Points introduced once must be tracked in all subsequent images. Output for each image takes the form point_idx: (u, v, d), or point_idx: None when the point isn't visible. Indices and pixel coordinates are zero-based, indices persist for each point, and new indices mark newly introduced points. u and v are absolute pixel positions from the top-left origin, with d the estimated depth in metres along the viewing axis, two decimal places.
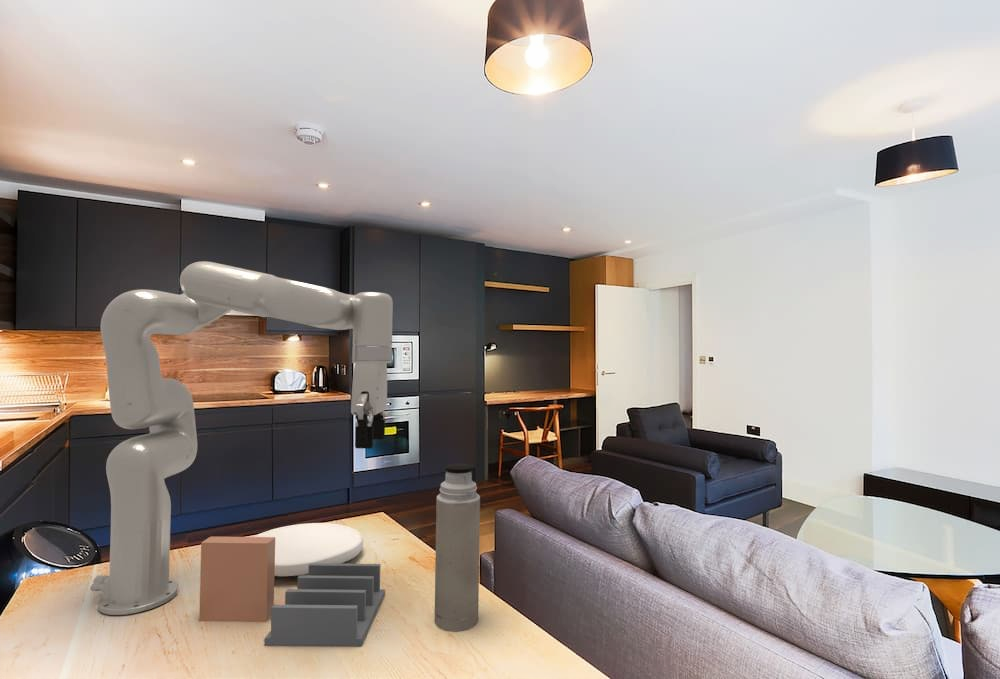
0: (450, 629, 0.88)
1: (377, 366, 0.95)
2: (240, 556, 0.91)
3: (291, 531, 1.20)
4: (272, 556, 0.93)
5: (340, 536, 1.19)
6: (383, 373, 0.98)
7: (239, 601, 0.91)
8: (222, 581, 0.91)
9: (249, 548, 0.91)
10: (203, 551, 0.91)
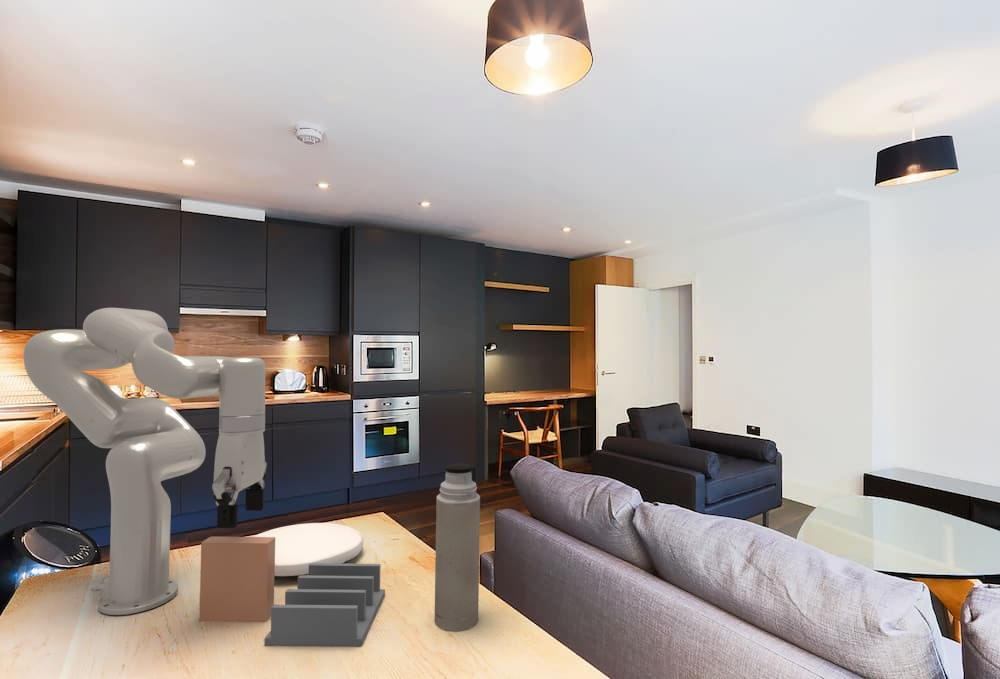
0: (450, 629, 0.88)
1: (242, 438, 0.89)
2: (240, 556, 0.91)
3: (291, 531, 1.20)
4: (272, 556, 0.93)
5: (340, 536, 1.19)
6: (253, 443, 0.92)
7: (239, 601, 0.91)
8: (222, 581, 0.91)
9: (249, 548, 0.91)
10: (203, 551, 0.91)
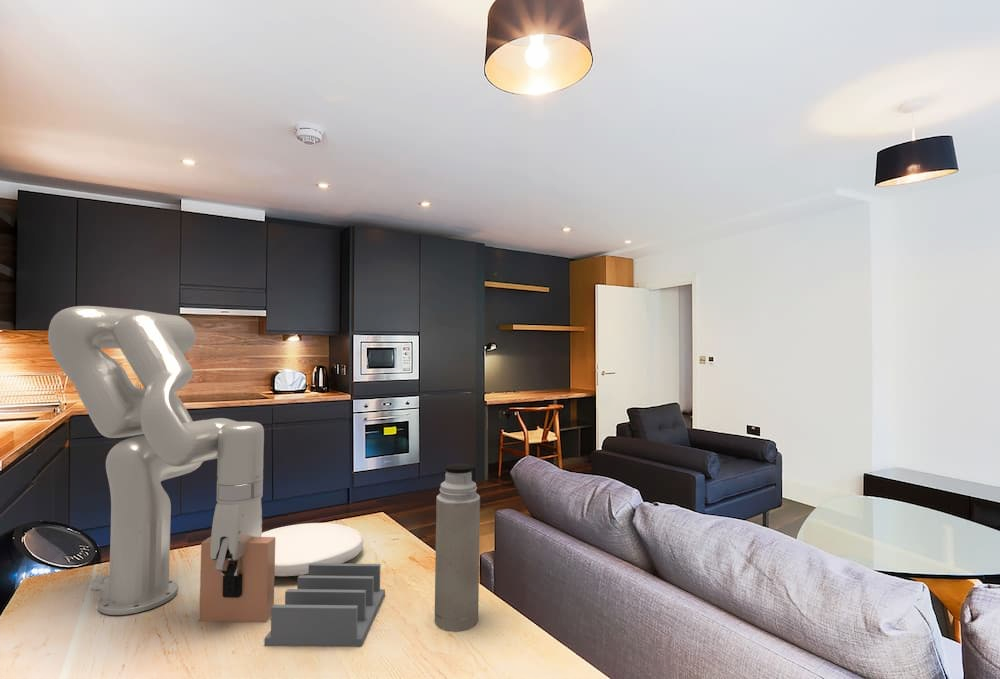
0: (450, 629, 0.88)
1: (240, 507, 0.89)
2: None
3: (291, 531, 1.20)
4: (272, 556, 0.93)
5: (340, 536, 1.19)
6: (250, 510, 0.92)
7: (239, 601, 0.91)
8: (222, 581, 0.91)
9: (249, 548, 0.91)
10: (203, 551, 0.91)
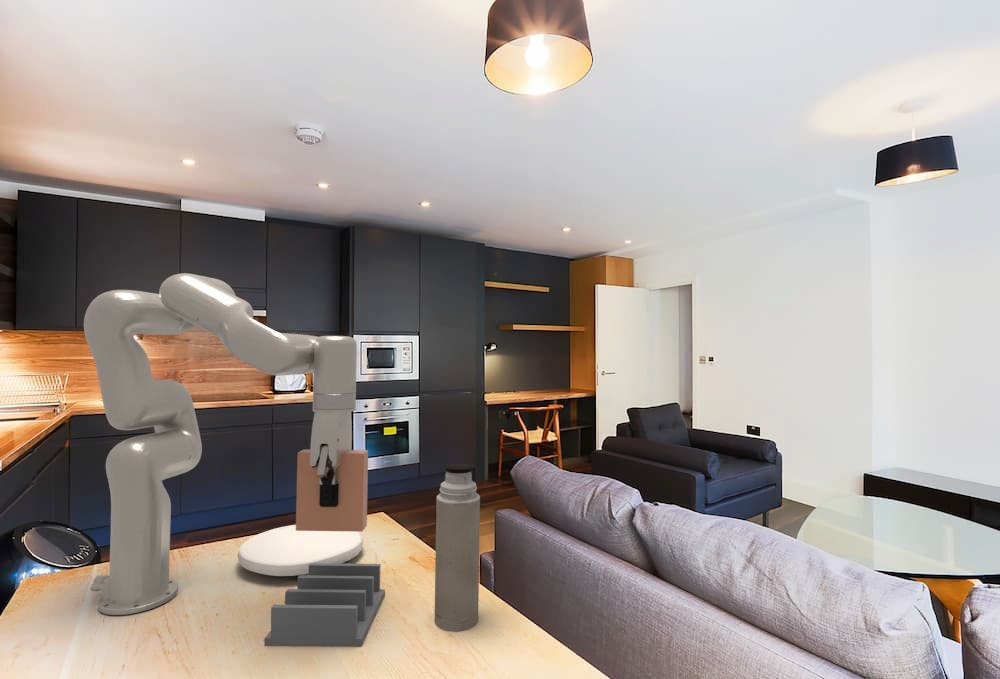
0: (450, 629, 0.88)
1: (338, 416, 0.89)
2: None
3: (291, 531, 1.20)
4: (366, 468, 0.93)
5: (340, 536, 1.19)
6: (345, 422, 0.92)
7: (335, 511, 0.91)
8: (318, 491, 0.91)
9: (345, 458, 0.91)
10: (299, 461, 0.91)
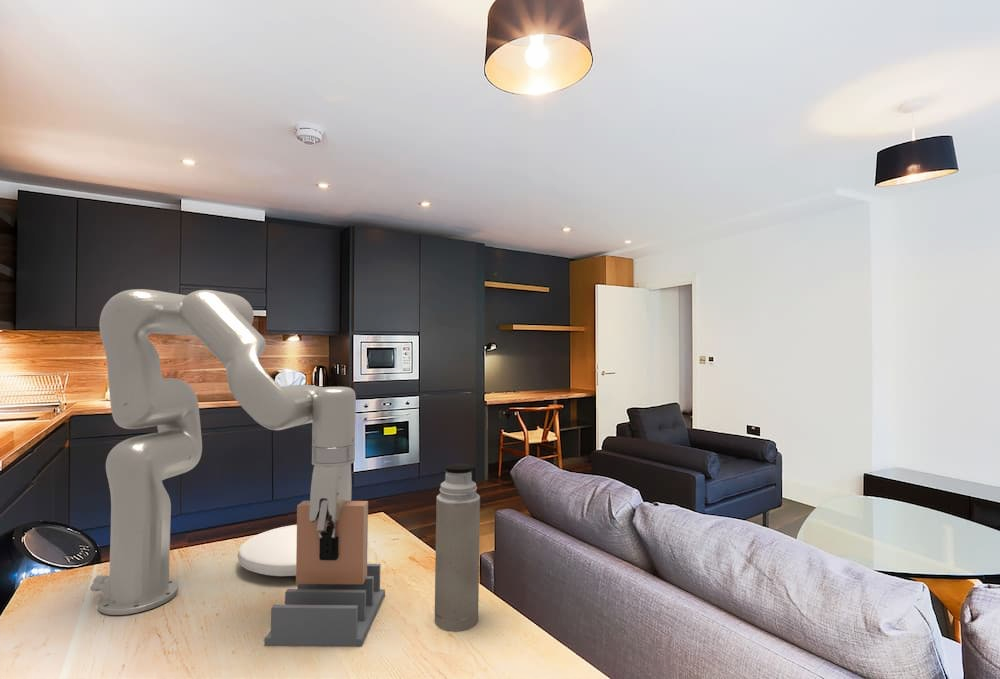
0: (450, 629, 0.88)
1: (337, 470, 0.89)
2: None
3: (291, 531, 1.20)
4: (366, 519, 0.93)
5: None
6: (345, 474, 0.92)
7: (336, 564, 0.91)
8: (318, 544, 0.91)
9: (345, 510, 0.91)
10: (299, 514, 0.91)
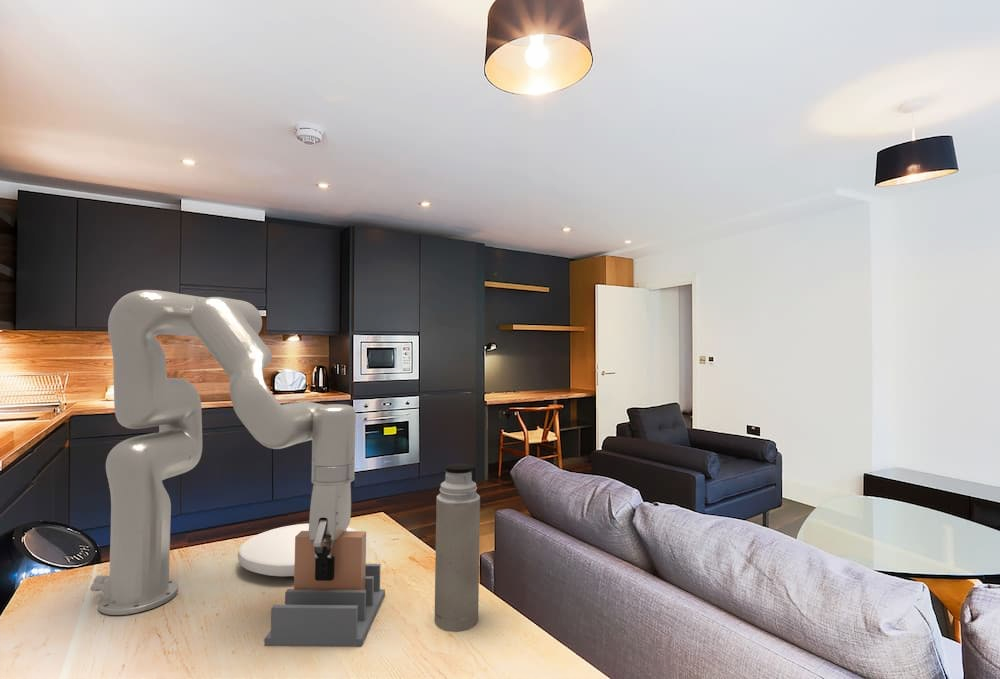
0: (450, 629, 0.88)
1: (337, 489, 0.89)
2: (334, 550, 0.91)
3: (291, 531, 1.20)
4: (364, 550, 0.93)
5: None
6: (344, 492, 0.92)
7: None
8: None
9: (343, 542, 0.91)
10: (297, 545, 0.91)
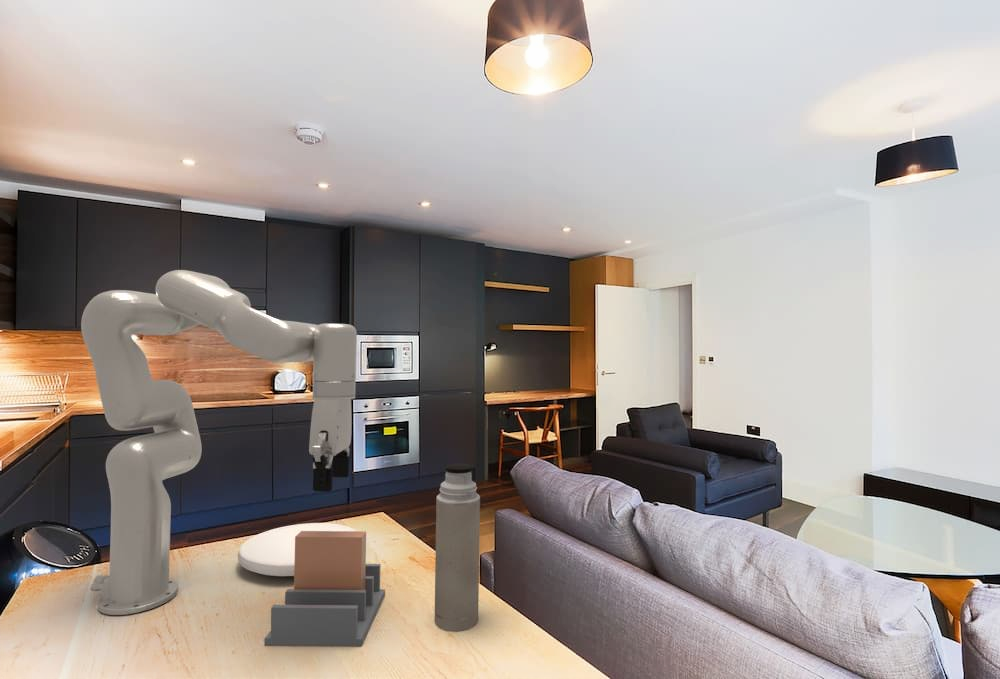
0: (450, 629, 0.88)
1: (338, 403, 0.90)
2: (334, 550, 0.91)
3: (291, 531, 1.20)
4: (364, 550, 0.93)
5: None
6: (345, 409, 0.92)
7: None
8: (316, 575, 0.91)
9: (343, 542, 0.91)
10: (297, 545, 0.91)
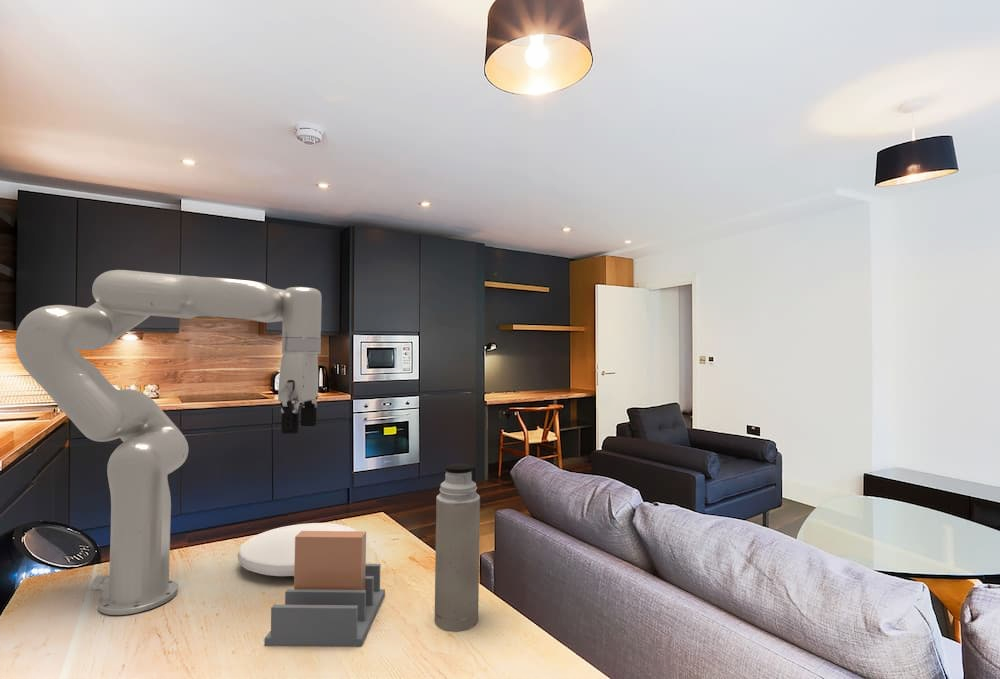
0: (450, 629, 0.88)
1: (303, 356, 1.02)
2: (334, 550, 0.91)
3: (291, 531, 1.20)
4: (364, 550, 0.93)
5: None
6: (311, 363, 1.04)
7: None
8: (316, 575, 0.91)
9: (343, 542, 0.91)
10: (297, 545, 0.91)
